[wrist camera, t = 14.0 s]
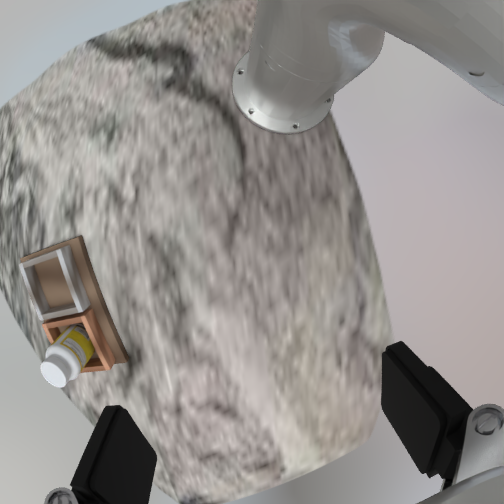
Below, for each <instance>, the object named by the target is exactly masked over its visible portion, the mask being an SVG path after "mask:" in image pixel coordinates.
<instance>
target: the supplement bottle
mask: <svg viewBox="0 0 504 504" xmlns="http://www.w3.org/2000/svg"><path fill="white" fill-rule="evenodd" d="M94 352H95V348H94V346H93V344H92V341H91V339H90V337H89V335H88V333H87V331H86V328H85V326H84V325H82V324H79V323H76V324H71V325H70V326H68V327H67V328H66V329H65V330H64V331H63V332H62V334H61V335H60V336H59V337H58V338H57V339H56V340H55V341H54V342H53V343H52V344H51V345H50V346H49V348H48V349H47V351H46V359H45V360H44V361H43V363H42V364H41V372H42V375H43V376H44V378H45V379H46V380H47V381H48V382H49V383H50V384H51V385H53V386H55V387H59V388H61V387H64V386H65V385H66V384H67V382H68V381H69V380H73V379H75V378H77V377H78V375H79V374H80V373H81V371H82V370H83V368H84V367H85V365H86V364H87V362H88V361H89V359H90V358H91V356H92V355H93V353H94Z"/></svg>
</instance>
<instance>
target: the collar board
mask: <svg viewBox="0 0 504 504" xmlns="http://www.w3.org/2000/svg"><path fill="white" fill-rule="evenodd" d="M20 259H21V263H20V264H19V266H20V270H21V273H22V275H23V278H24V281H25V284H26V287H27V289H28V292H29V295H30V297H31V300H32V302H33V305H34V307H35V310H36V312H37V314H38V317H39V319H40V321H41V320H43V321H44V323H43V324H42V326H43V328H44V330H45V332H46V334H47V337H48V339H49V341H50V343H51V344H52V343H53V342H54V341H55V340H56V339H57V338H58V337H59V336H60V335H61V334H62V332H63V331H64V330H65V329H66V328H67V327H68V326H70V325H71V324H76V323H79V324H82V325H84V326H85V328H86V331H87V333H88V335H89V337H90V339H91V341H92V344H93V346H94V348H95V352H94V353H93V355H92V356H91V358H90V359H89V361H88V362H87V364H86V365H85V367H84V368H83V370H82V371H81V373H83V372H94V371H103V370H111V368H112V366H113V364H119V363H126V362H127V361H128V359H129V357H128V354H127V352H126V350H125V348H124V346H123V344H122V342H121V339H120V337H119V335H118V333H117V330H116V328H115V326H114V323H113V321H112V319H111V316H110V314H109V311H108V309H107V306H106V304H105V301H104V299H103V296H102V294H101V291H100V288H99V285H98V283H97V280H96V277H95V274H94V271H93V268H92V266H91V263H90V259H89V256H88V253H87V250H86V247H85V244H84V240H83V237H82V236H79V237H76V238H73V239H71V240H68V241H65V242H62V243H59V244H57V245H54V246H51V247H49V248H46V249H43V250H41V251H38V252H35V253H33V254H30V255H28V256H25V257H23V258H20Z"/></svg>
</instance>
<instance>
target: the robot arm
mask: <svg viewBox="0 0 504 504" xmlns="http://www.w3.org/2000/svg"><path fill="white" fill-rule="evenodd" d="M385 31H386V32H388V33H390V34H392V35H394V36H395V37H397V38H399V39H401V40H403V41H404V42H406V43H409V44H412V45H414V46H415V47H417V48H419V49H420V50H422V51H423V52H425V53H427V54H428V55H430V56H431V57H433V58H434V59H436V60H438V61H439V62H440V63H442V64H443V65H445V66H446V67H448V68H449V69H450V70H452V71H453V72H455V73H456V74H457V75H459V76H460V77H461V78H463V79H464V80H465V81H467V82H468V83H469V84H471V85H472V86H473V87H475V88H476V89H477V90H479V91H480V92H481V93H483V94H484V95H485V96H487V97H488V98H490V99H491V100H493V101H495V102H497V103H499V104H501V105H503V106H504V0H258V1H257V9H256V15H255V22H254V28H253V34H252V40H251V46H250V51H249V52H247V53H246V54H245V55H244V56H243V57H242V58H241V59H240V60H239V62H238V64H237V66H236V67H235V70H234V73H233V77H232V92H233V96H234V100H235V102H236V104H237V106H238V108H239V110H240V111H241V112H242V114H243V115H244V116H245V117H246V118H247V119H248V120H249V121H250V122H252V123H253V124H255V125H256V126H258V127H260V128H262V129H264V130H267V131H269V132H273V133H278V134H294V133H300V132H303V131H306V130H308V129H310V128H312V127H314V126H315V125H317V124H318V123H320V122H321V121H322V120H323V119H324V118H325V116H326V115H327V114H328V112H329V110H330V109H331V106H332V103H333V100H334V94H335V93H336V92H337V91H339V90H340V89H341V88H343V87H344V86H345V85H346V84H347V83H349V82H350V81H352V80H353V79H354V78H355V77H357V76H358V75H359V74H360V73H362V72H363V71H364V70H365V69H367V68H368V67H369V66H370V65H371V64H372V63H373V62H374V61H375V60H376V58H377V57H378V55H379V53H380V51H381V49H382V45H383V41H384V33H385ZM240 72H241V73H242V75H240V74H238V73H240ZM325 101H327V103H326V102H325ZM249 112H253V115H250V114H249ZM293 125H295V126H296V127H297V128H296V129H294V128H293ZM381 406H382V410H383V412H384V414H385V415H386V417H387V418H388V420H389V422H390V423H391V425H392V427H393V428H394V430H395V431H396V433H397V435H398V436H399V438H400V439H401V441H402V443H403V445H404V446H405V448H406V449H407V451H408V453H409V454H410V456H411V458H412V459H413V461H414V463H415V464H416V466H417V468H418V469H419V471H420V472H421V473H422V474H424V473H426V474H427V476H428V477H429V478H431V477H433V476H434V475H436V474H438V473H439V475H440V476H441V478H442V479H443V483H442V486H441V490H440V492H439V493H437V494H435V495H433V496H431V497H429V498H427V499H425V500H423V501H421V502H419V503H417V504H504V409H502V408H501V407H500V406H497V405H495V404H485V405H481V406H479V407H477V408H476V409H474V410H473V409H472V408H471V407H470V406H469V404H468V403H467V402H466V401H465V400H464V399H463V398H462V397H461V396H460V395H459V394H458V393H457V392H456V391H455V390H454V389H453V388H452V387H451V386H450V385H449V383H448V382H447V381H446V380H445V379H444V378H442V376H441V375H440V374H439V373H438V372H437V371H436V370H435V369H434V368H432V367H430V366H428V367H427V366H426V365H425V364H424V363H423V362H422V361H421V360H420V359H419V358H418V357H417V356H416V355H415V354H414V353H413V352H412V350H411V349H410V348H408V346H407V345H405V343H404V342H402V341H399V342H397V343H394V344H392V345H389V346H387V347H386V351H385V352H383V353H382V394H381ZM156 462H157V455H156V452H155V451H154V449H153V448H152V447H151V445H150V444H149V442H148V441H147V440H146V438H145V437H144V435H143V434H142V432H141V431H140V429H139V428H138V426H137V425H136V423H135V422H134V420H133V419H132V417H131V416H130V414H129V413H128V411H127V410H126V409H123V407H122V406H120V405H114V406H106V407H105V408H104V410H103V412H102V414H101V416H100V418H99V420H98V422H97V424H96V427H95V429H94V431H93V433H92V435H91V438H90V440H89V442H88V444H87V446H86V449H85V451H84V453H83V455H82V458H81V460H80V462H79V465H78V467H77V469H76V472H75V474H74V477H73V479H72V481H71V484H70V485H71V486H72V490H69V489H67V488H56V489H54V490H52V491H51V492H50V493H49V494H48V495H47V497H46V499H45V503H44V504H148V503H149V497H150V492H151V487H152V482H153V477H154V472H155V467H156Z"/></svg>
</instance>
